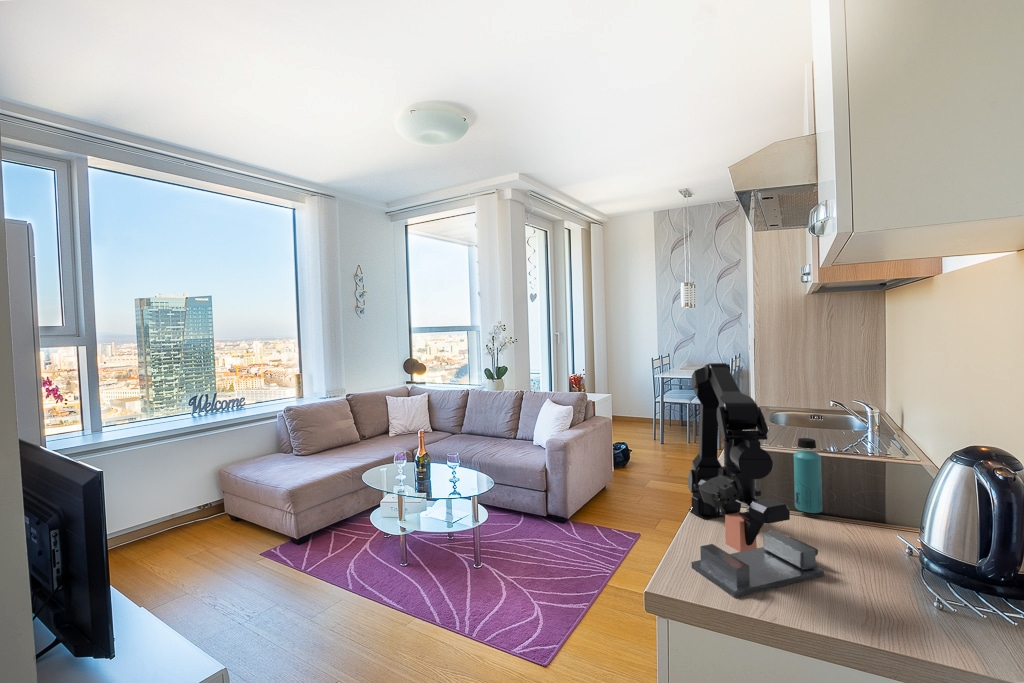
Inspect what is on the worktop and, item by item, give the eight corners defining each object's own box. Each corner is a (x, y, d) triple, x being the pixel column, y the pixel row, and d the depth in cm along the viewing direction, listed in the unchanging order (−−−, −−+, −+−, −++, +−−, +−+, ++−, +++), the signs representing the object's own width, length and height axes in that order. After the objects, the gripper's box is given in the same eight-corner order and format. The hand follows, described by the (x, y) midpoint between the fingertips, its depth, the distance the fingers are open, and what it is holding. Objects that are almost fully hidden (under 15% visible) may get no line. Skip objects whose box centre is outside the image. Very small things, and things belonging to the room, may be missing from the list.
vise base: (774, 550, 107) (773, 529, 106) (824, 576, 95) (823, 552, 95) (691, 567, 100) (691, 545, 100) (734, 597, 88) (734, 572, 88)
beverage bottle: (829, 517, 123) (828, 440, 123) (807, 520, 122) (806, 442, 122) (808, 508, 130) (807, 435, 129) (787, 511, 128) (786, 437, 128)
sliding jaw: (785, 543, 106) (785, 528, 106) (827, 564, 97) (827, 547, 97) (762, 548, 104) (761, 532, 104) (802, 570, 95) (802, 552, 95)
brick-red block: (741, 540, 99) (740, 511, 99) (756, 548, 95) (756, 518, 95) (725, 543, 98) (725, 514, 97) (740, 552, 94) (739, 522, 94)
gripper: (676, 456, 102) (677, 528, 103) (742, 482, 85) (744, 569, 85) (718, 450, 106) (720, 520, 106) (791, 474, 88) (792, 558, 88)
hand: (740, 540), depth 96 cm, fingers closed on brick-red block, 4 cm apart
